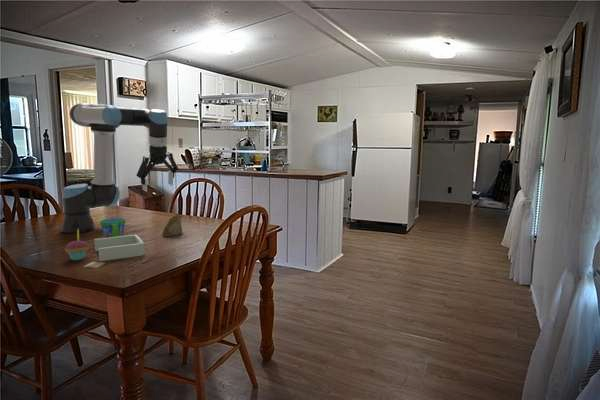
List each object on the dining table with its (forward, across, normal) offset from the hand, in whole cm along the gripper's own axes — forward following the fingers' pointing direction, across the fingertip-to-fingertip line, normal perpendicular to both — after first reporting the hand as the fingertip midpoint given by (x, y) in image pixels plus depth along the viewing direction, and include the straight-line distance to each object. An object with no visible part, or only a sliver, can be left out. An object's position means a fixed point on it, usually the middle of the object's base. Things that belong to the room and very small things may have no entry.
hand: (158, 187), depth 187 cm
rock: (+25, +4, -6) cm, 26 cm away
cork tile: (+13, -42, -25) cm, 51 cm away
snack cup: (+24, -21, +3) cm, 32 cm away
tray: (+17, -28, -16) cm, 37 cm away
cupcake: (+17, -42, -11) cm, 47 cm away
